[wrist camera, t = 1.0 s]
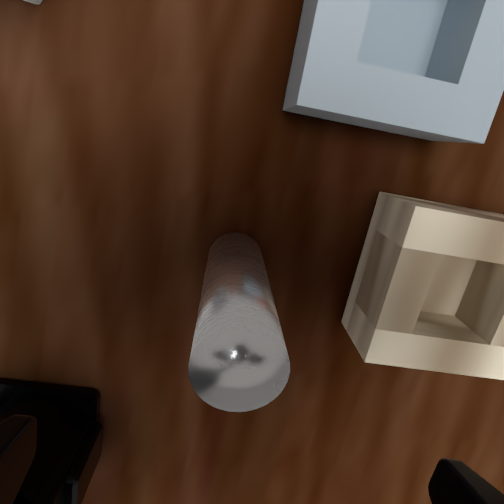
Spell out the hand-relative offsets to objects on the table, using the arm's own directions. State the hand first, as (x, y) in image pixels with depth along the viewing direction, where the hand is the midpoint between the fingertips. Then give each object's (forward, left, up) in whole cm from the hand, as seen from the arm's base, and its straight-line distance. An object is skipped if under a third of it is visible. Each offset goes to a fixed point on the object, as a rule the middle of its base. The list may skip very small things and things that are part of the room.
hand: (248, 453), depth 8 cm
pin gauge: (0, 0, -13) cm, 13 cm away
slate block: (+5, +12, -13) cm, 18 cm away
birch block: (+11, +1, -13) cm, 17 cm away
